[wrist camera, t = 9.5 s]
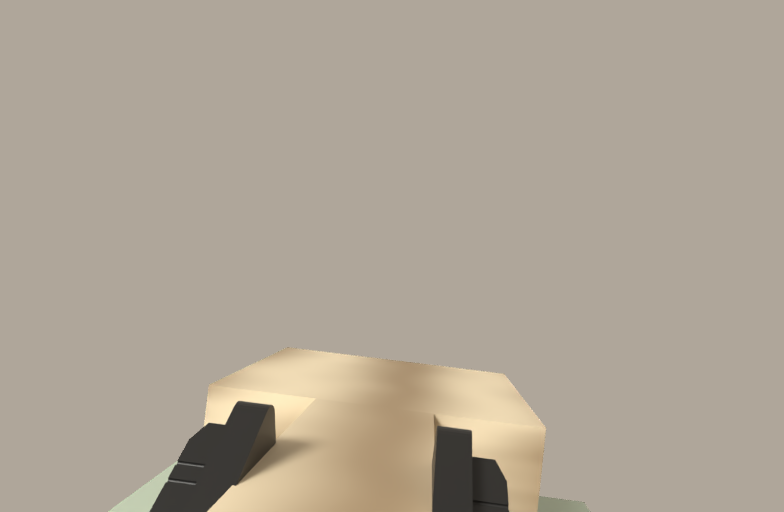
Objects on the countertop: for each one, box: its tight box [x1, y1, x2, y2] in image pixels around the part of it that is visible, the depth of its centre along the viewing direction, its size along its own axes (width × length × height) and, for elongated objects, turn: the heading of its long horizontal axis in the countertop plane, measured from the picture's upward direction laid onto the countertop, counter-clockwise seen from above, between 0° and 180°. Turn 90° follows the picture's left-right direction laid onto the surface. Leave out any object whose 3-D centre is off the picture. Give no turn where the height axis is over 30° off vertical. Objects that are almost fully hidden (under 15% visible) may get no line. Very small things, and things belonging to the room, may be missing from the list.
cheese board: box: [204, 347, 546, 512], centre depth 18 cm, size 10×20×2 cm, turn 176°
